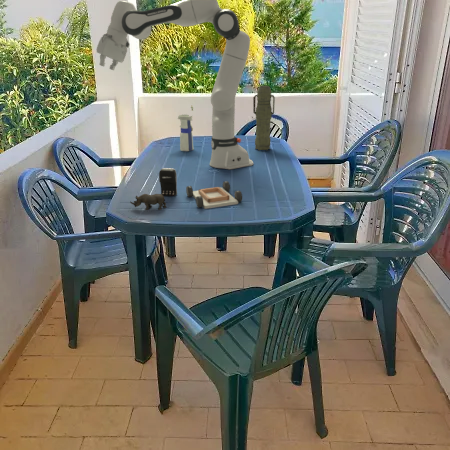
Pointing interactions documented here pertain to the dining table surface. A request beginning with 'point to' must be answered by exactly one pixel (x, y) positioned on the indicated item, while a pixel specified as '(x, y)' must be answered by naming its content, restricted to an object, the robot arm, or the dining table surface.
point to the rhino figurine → (150, 201)
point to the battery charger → (168, 181)
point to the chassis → (214, 196)
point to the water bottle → (186, 133)
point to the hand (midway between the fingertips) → (106, 67)
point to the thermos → (263, 117)
